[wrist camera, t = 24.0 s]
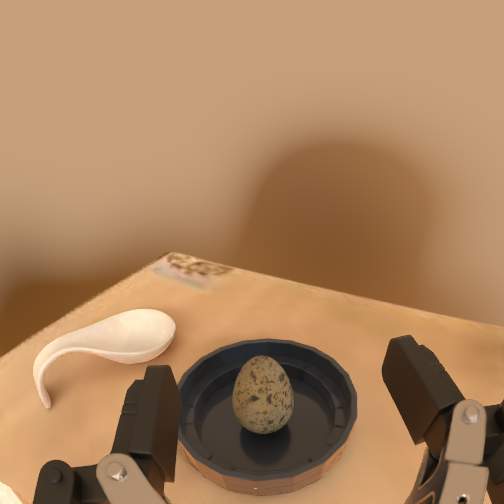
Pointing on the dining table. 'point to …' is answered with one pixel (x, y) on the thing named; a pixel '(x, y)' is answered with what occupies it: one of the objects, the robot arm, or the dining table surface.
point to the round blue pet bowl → (272, 444)
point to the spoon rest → (110, 342)
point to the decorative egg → (262, 396)
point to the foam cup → (11, 496)
